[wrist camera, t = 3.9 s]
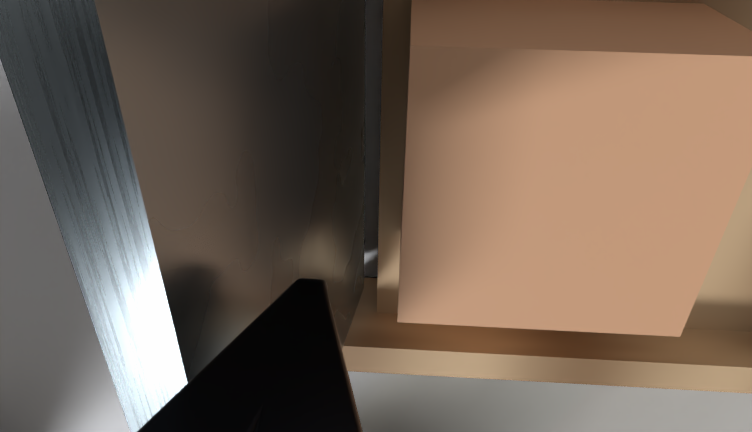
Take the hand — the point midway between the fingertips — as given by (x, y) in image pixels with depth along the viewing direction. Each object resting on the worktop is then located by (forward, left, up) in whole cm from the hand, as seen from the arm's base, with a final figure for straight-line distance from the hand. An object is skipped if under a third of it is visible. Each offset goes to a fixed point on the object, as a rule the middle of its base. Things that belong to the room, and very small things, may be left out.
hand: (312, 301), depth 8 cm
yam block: (-4, 0, -6) cm, 8 cm away
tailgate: (+1, 0, -3) cm, 3 cm away
